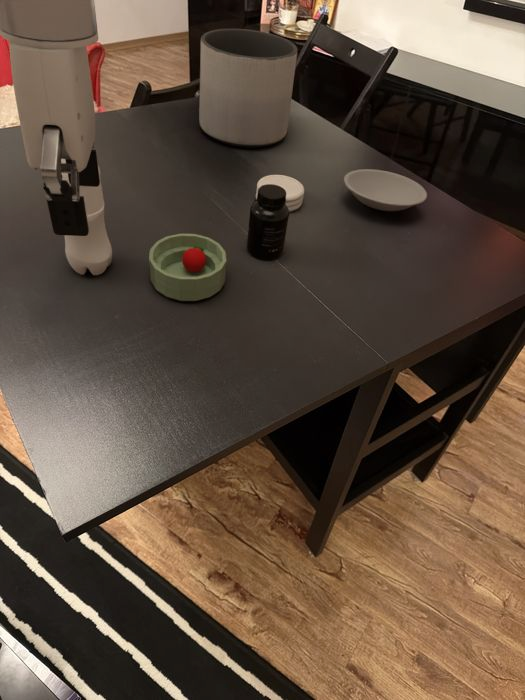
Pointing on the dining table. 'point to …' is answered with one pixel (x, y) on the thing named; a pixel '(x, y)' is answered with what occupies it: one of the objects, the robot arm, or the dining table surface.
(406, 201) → the dish
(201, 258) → the cherry tomato
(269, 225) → the supplement bottle
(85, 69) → the robot arm
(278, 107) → the planter
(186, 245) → the bowl
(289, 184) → the white round flat stack
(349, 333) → the dining table surface
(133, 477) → the dining table surface
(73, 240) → the water bottle
